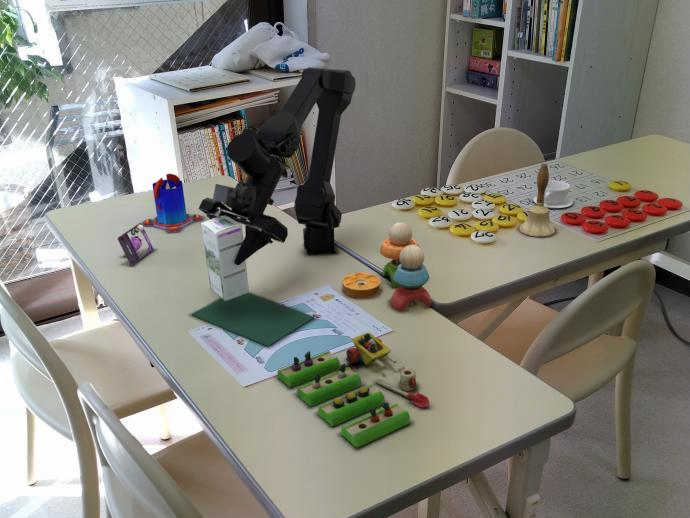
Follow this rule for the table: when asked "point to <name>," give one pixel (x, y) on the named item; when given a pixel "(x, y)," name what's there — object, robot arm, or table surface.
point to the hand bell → (539, 210)
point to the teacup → (556, 195)
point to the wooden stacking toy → (395, 271)
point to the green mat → (254, 318)
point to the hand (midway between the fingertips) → (223, 260)
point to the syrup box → (224, 257)
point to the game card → (134, 244)
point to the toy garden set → (358, 400)
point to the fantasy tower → (170, 205)
